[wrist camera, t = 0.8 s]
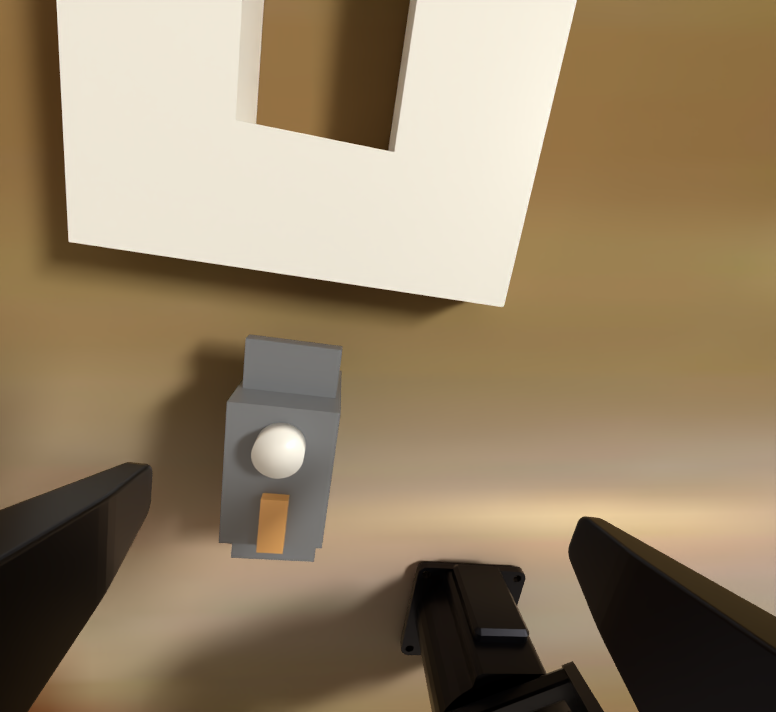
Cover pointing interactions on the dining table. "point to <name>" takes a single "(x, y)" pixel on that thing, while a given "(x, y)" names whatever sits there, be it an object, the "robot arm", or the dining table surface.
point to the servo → (280, 449)
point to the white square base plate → (308, 145)
